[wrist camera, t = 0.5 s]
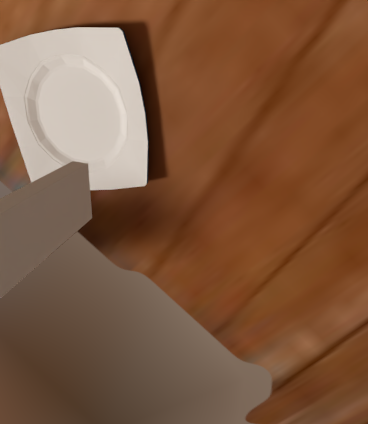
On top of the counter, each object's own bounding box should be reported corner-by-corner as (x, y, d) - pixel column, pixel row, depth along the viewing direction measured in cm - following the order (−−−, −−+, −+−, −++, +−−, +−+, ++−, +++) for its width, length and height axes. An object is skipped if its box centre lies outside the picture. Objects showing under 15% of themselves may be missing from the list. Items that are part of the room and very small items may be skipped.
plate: (-4, 41, 43) (-20, 41, 40) (137, 18, 37) (127, 16, 34) (40, 185, 51) (29, 192, 49) (161, 185, 45) (154, 192, 43)
